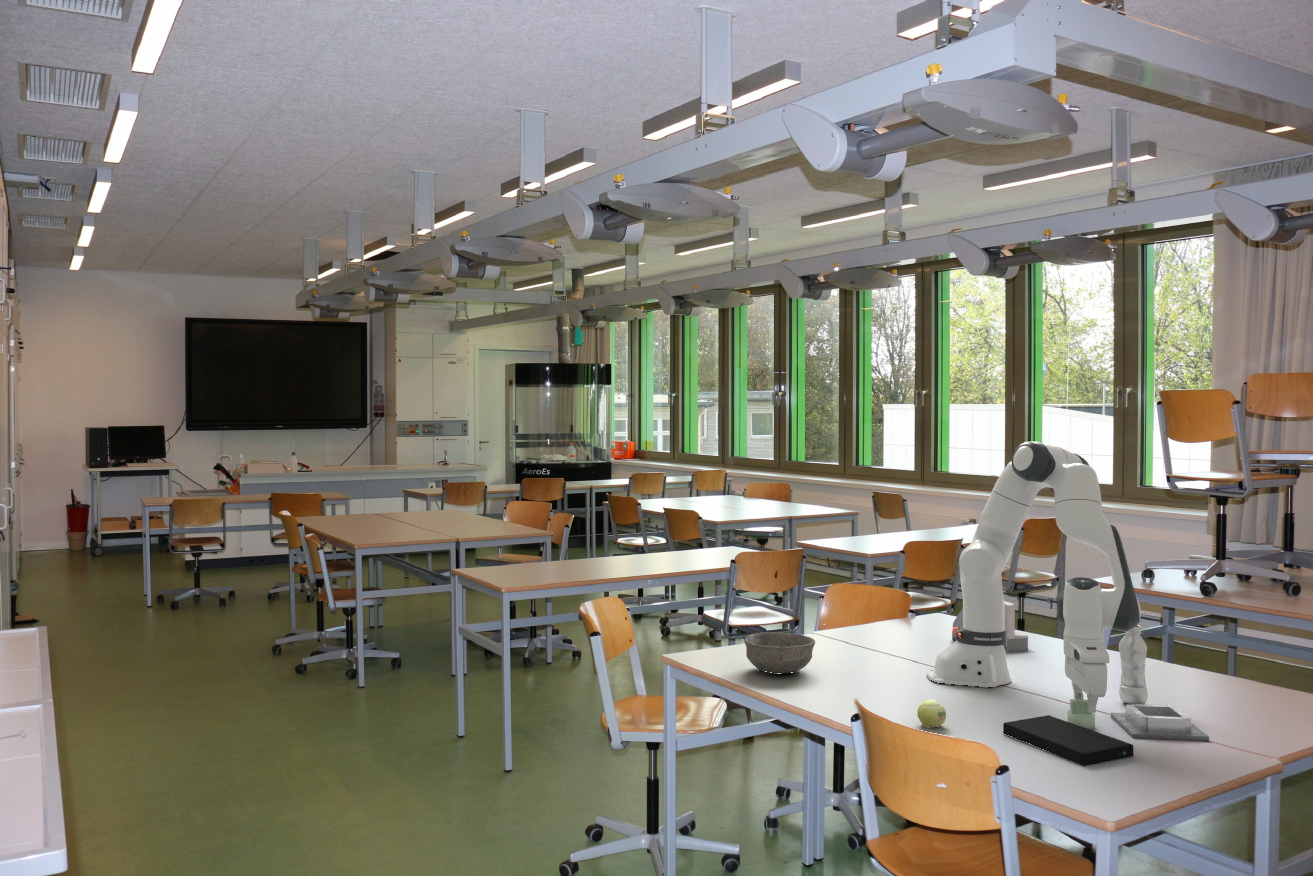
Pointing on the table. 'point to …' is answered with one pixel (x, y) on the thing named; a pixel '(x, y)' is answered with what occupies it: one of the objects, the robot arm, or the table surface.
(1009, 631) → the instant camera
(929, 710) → the tennis ball
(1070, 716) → the stepped sage green block
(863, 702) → the table surface
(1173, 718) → the cap socket
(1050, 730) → the external hard drive
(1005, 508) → the robot arm
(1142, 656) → the plastic bottle
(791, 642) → the bowl
